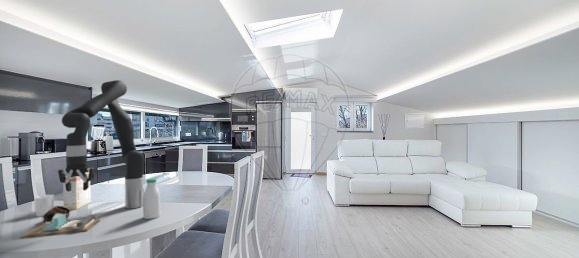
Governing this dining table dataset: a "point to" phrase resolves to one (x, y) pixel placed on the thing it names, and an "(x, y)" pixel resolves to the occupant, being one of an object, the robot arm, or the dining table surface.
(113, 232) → the dining table surface
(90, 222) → the ticket holder
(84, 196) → the coffeecake box
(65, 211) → the pottery mug
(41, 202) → the white cup
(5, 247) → the dining table surface
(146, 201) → the milk bottle
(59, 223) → the stub
